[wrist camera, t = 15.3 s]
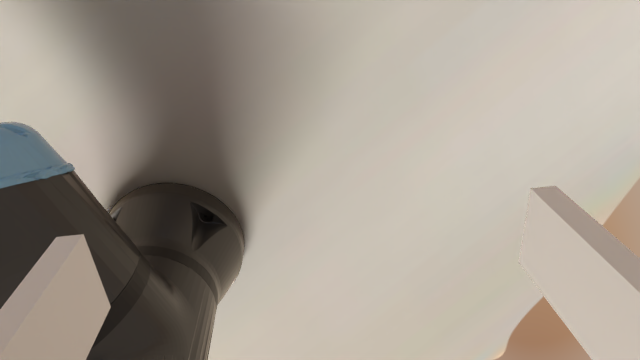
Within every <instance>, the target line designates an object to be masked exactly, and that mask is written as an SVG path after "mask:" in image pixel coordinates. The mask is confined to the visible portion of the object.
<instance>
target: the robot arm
mask: <svg viewBox="0 0 640 360" xmlns="http://www.w3.org/2000/svg"><path fill="white" fill-rule="evenodd" d="M74 169H75V168H74V167H73V165H72V164H70V163H66V162H65V160H64V159H63V158H62V157H61V156H60V155H59V154H58V153H57V152H56V151H55V150H54V149H53V148H52V147H51V146H50V145H49V144H48V143H47V141H46V140H45V139H44V138H43V137H42V136H41V135H40V134H39V133H38V132H37V131H36V130H35V129H33V128H31V127H30V126H28V125H25V124H22V123H17V122H3V123H0V360H208V354H209V348H210V343H211V337H212V331H213V326H214V320H215V314H216V309H217V305H218V304H219V302H220V301H221V299H222V298H223V297H224V295H225V294H226V292H227V291H228V289H229V288H230V287H231V285H232V284H233V283H234V281H235V280H236V278H237V276H238V274H239V271H240V268H241V265H242V259H243V252H244V238H243V233H242V230H241V227H240V225H239V223H238V221H237V219H236V218H235V216H234V215H233V213H232V212H231V211H230V210H229V209H228V208H227V207H226V206H225V205H224V204H223V203H222V202H221V201H219V200H218V199H217V198H215V197H214V196H212V195H210V194H208V193H206V192H204V191H202V190H200V189H197V188H194V187H191V186H187V185H182V184H173V183H162V184H153V185H148V186H144V187H141V188H139V189H136V190H134V191H132V192H130V193H129V194H127V195H125V196H124V197H123V198H122V199H120V200H119V201H118V202H117V203H116V204H115V206H114V207H113V208H112V210H111V211H110V213H108V212H107V211H106V210H105V208H104V207H103V206H102V205H101V204H100V203H99V201H98V200H97V199H96V198H95V196H94V195H93V194H92V193H91V191H90V190H89V189H88V188H87V187H86V185H85V184H84V183H83V182H82V180H81V179H80V178H79V177H78V175H77V174H76V173H75V172H74ZM518 263H519V264H520V265H521V267H522V268H523V269H524V271H525V272H526V273H527V275H528V276H529V277H530V279H531V280H532V281H533V283H534V284H535V285H536V286H537V288H538V289H539V290H540V292H541V293H542V294H543V296H544V297H545V298H546V300H547V301H548V302H549V303H550V305H551V306H552V308H553V309H554V310H555V311H556V313H557V314H558V315H559V317H560V318H561V319H562V321H563V322H564V323H565V325H566V326H567V327H568V329H569V330H570V331H571V333H572V334H573V335H574V336H575V338H576V339H577V340H578V342H579V343H580V344H581V346H582V347H583V348H584V349H585V351H586V352H587V354H588V355H589V356H590V358H591V359H592V360H640V258H639V257H638V256H636V255H635V254H634V253H633V252H632V251H631V250H630V249H628V248H627V247H626V246H625V245H624V244H622V243H621V242H620V241H619V240H618V239H617V238H616V237H614V236H613V235H612V234H611V233H610V232H609V231H607V230H606V229H605V228H604V227H603V226H602V225H601V224H599V223H598V222H597V221H596V220H595V219H594V218H592V217H591V216H590V215H589V214H588V213H587V212H585V211H584V210H583V209H582V208H581V207H580V206H578V205H577V204H576V203H575V202H574V201H573V200H571V199H570V198H569V197H568V196H567V195H566V194H564V193H563V192H562V191H561V190H560V189H559V188H557V187H556V186H550V187H540V188H531V189H530V195H529V201H528V207H527V213H526V219H525V225H524V232H523V238H522V244H521V250H520V256H519V262H518Z"/></svg>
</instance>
